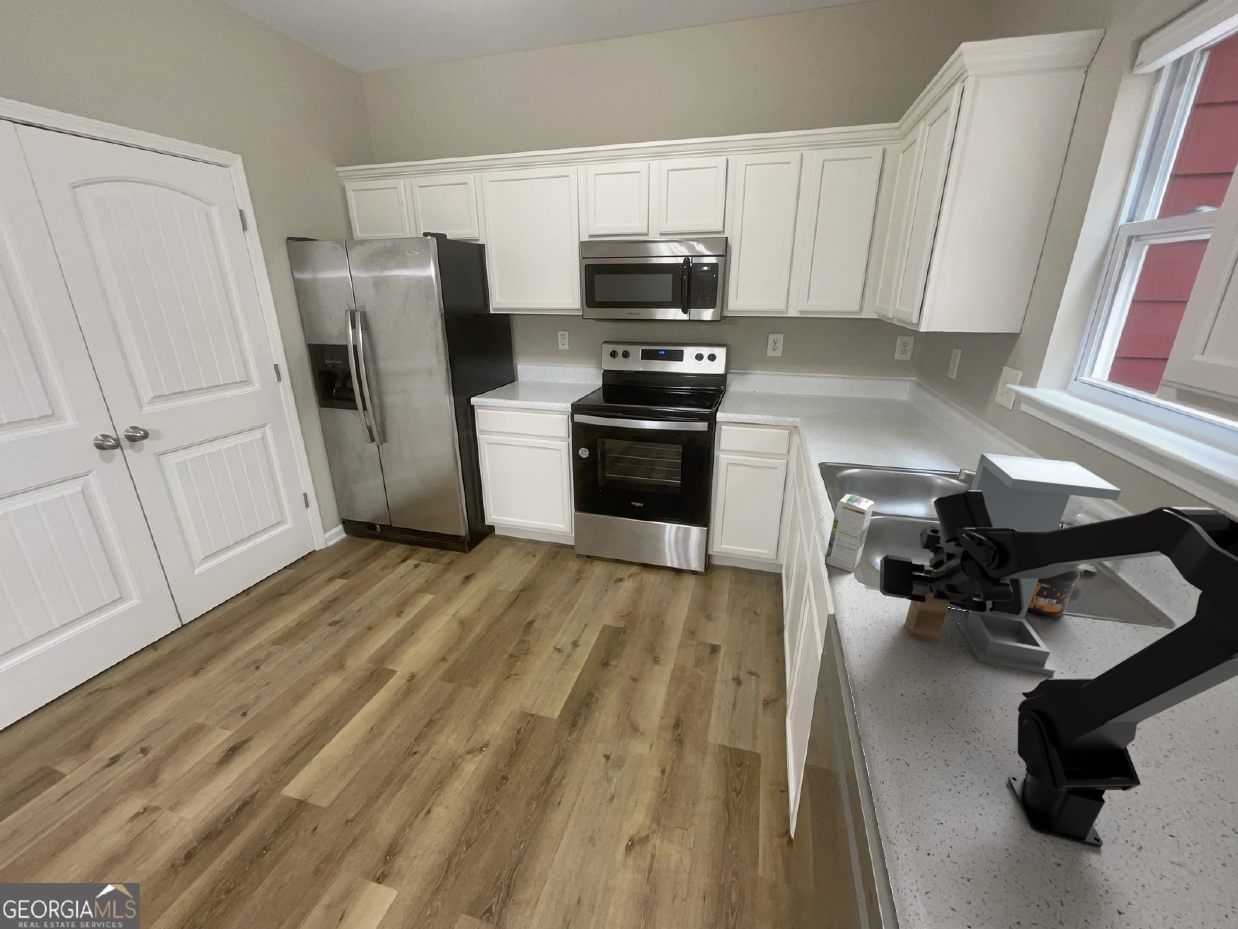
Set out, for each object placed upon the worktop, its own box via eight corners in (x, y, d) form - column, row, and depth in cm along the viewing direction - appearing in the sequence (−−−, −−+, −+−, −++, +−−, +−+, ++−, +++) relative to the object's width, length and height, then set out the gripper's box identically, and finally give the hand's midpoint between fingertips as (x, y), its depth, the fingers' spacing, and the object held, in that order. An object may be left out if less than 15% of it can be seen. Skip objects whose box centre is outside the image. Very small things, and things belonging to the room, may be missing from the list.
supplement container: (998, 609, 92) (1018, 552, 88) (989, 580, 101) (1007, 527, 97) (1070, 627, 87) (1095, 568, 83) (1055, 596, 96) (1077, 541, 92)
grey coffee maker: (1051, 660, 80) (1121, 490, 69) (959, 643, 83) (1013, 478, 73) (1017, 614, 90) (1074, 462, 80) (937, 601, 94) (981, 452, 83)
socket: (1053, 676, 76) (1060, 657, 75) (978, 661, 79) (984, 643, 78) (1023, 634, 85) (1029, 617, 84) (957, 622, 88) (962, 606, 87)
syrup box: (832, 553, 110) (844, 492, 104) (861, 562, 106) (875, 500, 101) (824, 563, 105) (836, 500, 100) (853, 573, 102) (867, 509, 97)
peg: (937, 642, 83) (956, 580, 79) (910, 637, 84) (928, 576, 80) (930, 627, 86) (948, 567, 82) (904, 623, 87) (921, 563, 83)
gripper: (1040, 529, 71) (987, 558, 85) (896, 510, 76) (868, 540, 90) (1049, 608, 67) (992, 625, 81) (896, 583, 71) (867, 603, 85)
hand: (927, 595), depth 84 cm, fingers closed on peg, 4 cm apart
